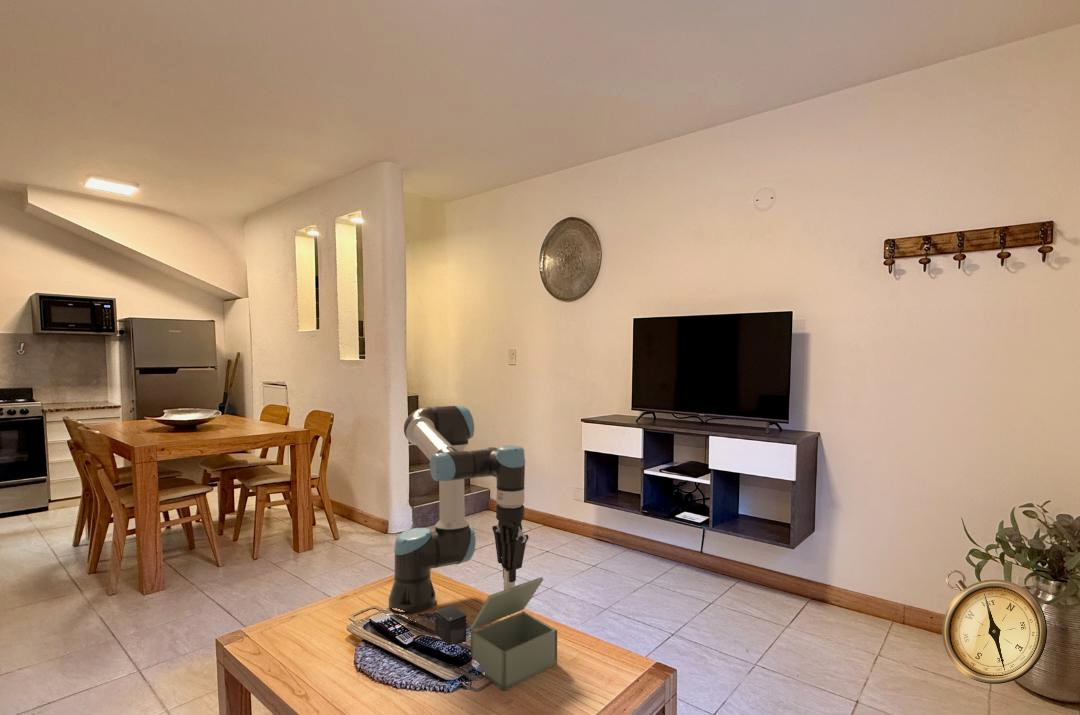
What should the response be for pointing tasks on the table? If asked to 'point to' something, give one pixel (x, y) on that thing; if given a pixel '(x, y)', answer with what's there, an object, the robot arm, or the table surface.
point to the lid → (506, 602)
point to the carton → (514, 649)
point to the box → (450, 625)
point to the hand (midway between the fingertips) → (509, 592)
